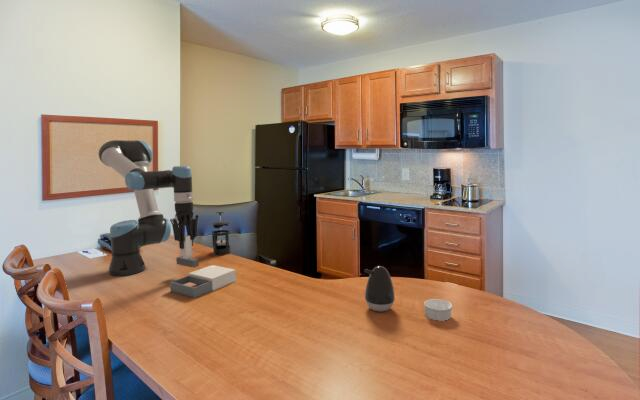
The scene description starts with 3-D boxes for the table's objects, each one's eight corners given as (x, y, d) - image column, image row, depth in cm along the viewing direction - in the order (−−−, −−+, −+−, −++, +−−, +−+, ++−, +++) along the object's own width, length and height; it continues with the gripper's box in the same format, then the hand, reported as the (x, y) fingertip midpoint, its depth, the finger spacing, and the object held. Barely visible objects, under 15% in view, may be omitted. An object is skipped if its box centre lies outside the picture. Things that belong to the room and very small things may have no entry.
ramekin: (445, 325, 115) (445, 312, 115) (419, 317, 121) (419, 304, 121) (456, 315, 122) (456, 303, 121) (430, 308, 128) (431, 296, 127)
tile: (189, 282, 148) (189, 288, 148) (179, 285, 144) (180, 291, 144) (196, 284, 145) (197, 290, 146) (187, 287, 141) (187, 294, 142)
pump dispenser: (361, 303, 132) (361, 262, 131) (389, 302, 133) (390, 261, 131) (367, 315, 122) (367, 271, 120) (398, 314, 123) (398, 270, 121)
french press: (235, 252, 204) (233, 211, 201) (222, 256, 196) (220, 213, 194) (220, 249, 211) (218, 209, 208) (207, 253, 203) (205, 212, 200)
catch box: (170, 291, 146) (169, 281, 146) (188, 284, 154) (188, 275, 153) (194, 298, 139) (193, 288, 138) (212, 290, 146) (211, 281, 146)
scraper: (176, 264, 164) (174, 235, 162) (182, 262, 166) (180, 234, 165) (193, 267, 158) (191, 238, 156) (199, 265, 160) (197, 236, 159)
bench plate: (189, 284, 154) (188, 273, 153) (212, 275, 165) (212, 265, 164) (212, 290, 146) (212, 278, 146) (235, 281, 157) (235, 269, 157)
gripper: (174, 204, 150) (177, 260, 153) (203, 200, 163) (206, 251, 166) (162, 203, 154) (166, 258, 157) (192, 199, 167) (195, 249, 170)
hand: (187, 254), depth 162 cm, fingers closed on scraper, 2 cm apart
